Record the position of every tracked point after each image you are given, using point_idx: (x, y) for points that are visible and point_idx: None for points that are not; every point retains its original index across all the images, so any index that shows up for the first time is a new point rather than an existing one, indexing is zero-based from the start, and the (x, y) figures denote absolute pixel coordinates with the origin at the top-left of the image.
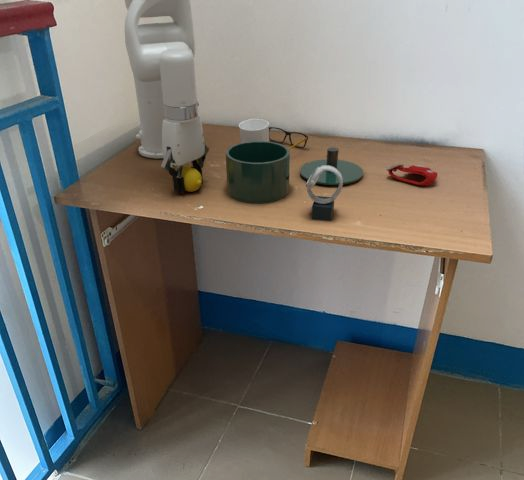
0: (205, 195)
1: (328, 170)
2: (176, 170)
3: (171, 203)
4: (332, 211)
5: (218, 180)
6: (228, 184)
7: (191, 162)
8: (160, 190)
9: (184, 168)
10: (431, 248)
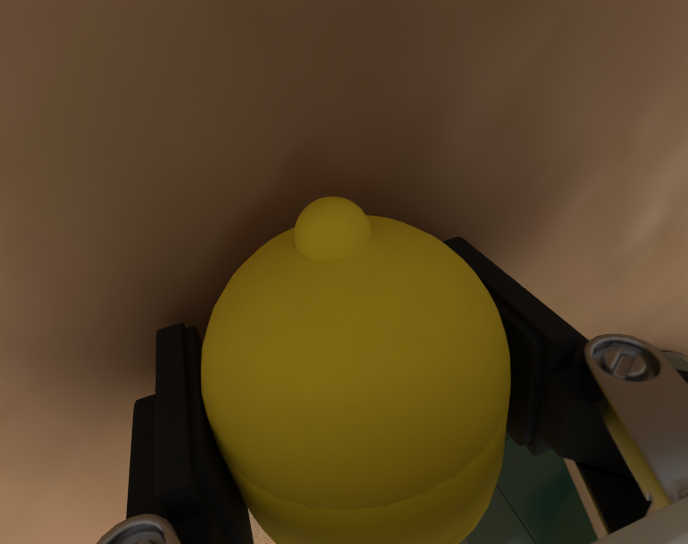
0: None
1: None
2: (297, 430)
3: (15, 483)
4: None
5: (595, 273)
6: (491, 542)
7: (610, 400)
8: (13, 141)
9: (387, 531)
10: None
